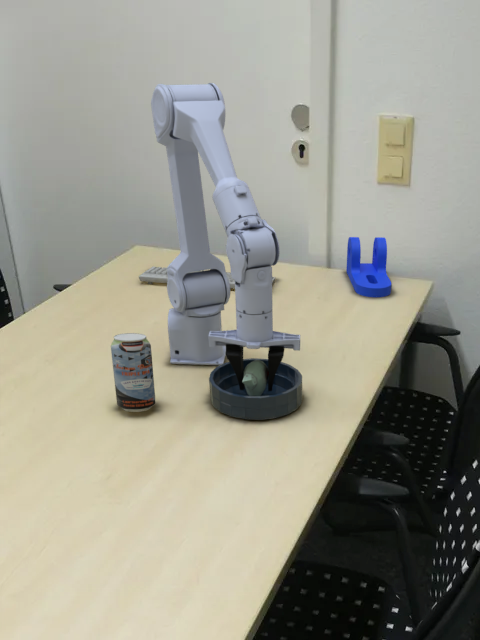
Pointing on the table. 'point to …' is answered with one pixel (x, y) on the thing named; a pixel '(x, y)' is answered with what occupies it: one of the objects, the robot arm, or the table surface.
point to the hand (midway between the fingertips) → (256, 388)
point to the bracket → (368, 269)
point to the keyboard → (161, 276)
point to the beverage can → (133, 372)
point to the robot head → (255, 377)
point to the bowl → (255, 407)
